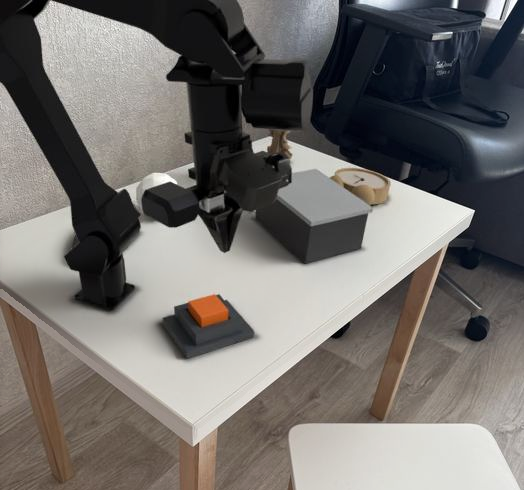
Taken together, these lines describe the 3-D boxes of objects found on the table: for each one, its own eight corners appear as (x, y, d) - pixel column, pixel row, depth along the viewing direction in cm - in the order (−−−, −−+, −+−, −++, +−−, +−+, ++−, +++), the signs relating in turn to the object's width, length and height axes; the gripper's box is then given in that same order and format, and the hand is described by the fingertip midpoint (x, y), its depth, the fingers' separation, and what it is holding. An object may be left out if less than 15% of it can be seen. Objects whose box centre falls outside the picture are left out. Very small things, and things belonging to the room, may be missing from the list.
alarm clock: (400, 179, 114) (370, 191, 103) (393, 203, 117) (362, 217, 106) (351, 163, 119) (316, 173, 108) (345, 186, 122) (311, 198, 110)
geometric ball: (170, 231, 104) (183, 210, 97) (127, 217, 101) (137, 194, 94) (176, 196, 106) (190, 173, 99) (134, 181, 103) (146, 157, 96)
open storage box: (307, 207, 109) (311, 173, 104) (361, 249, 98) (368, 213, 94) (254, 219, 104) (257, 183, 100) (305, 264, 94) (310, 226, 89)
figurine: (255, 158, 125) (259, 85, 115) (273, 152, 128) (280, 81, 119) (279, 169, 121) (286, 95, 111) (298, 163, 125) (306, 90, 115)
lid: (315, 172, 105) (316, 168, 104) (372, 212, 94) (373, 207, 94) (257, 183, 100) (257, 179, 99) (310, 226, 89) (311, 222, 89)
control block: (187, 359, 74) (186, 341, 72) (162, 324, 79) (161, 307, 77) (253, 337, 78) (255, 320, 76) (226, 306, 83) (227, 289, 81)
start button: (201, 328, 75) (201, 317, 74) (188, 311, 77) (188, 301, 76) (228, 320, 77) (228, 309, 75) (214, 304, 79) (214, 293, 78)
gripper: (192, 165, 53) (205, 304, 63) (327, 121, 63) (321, 248, 73) (128, 138, 60) (149, 268, 69) (260, 102, 70) (262, 220, 79)
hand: (224, 251), depth 73 cm, fingers closed
